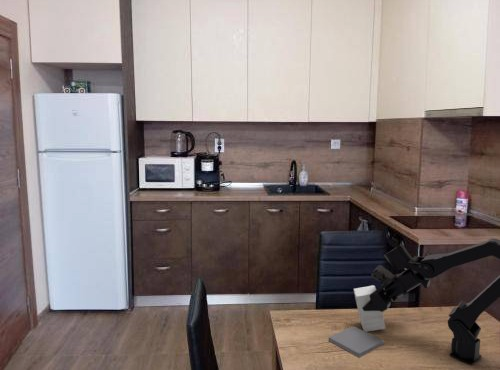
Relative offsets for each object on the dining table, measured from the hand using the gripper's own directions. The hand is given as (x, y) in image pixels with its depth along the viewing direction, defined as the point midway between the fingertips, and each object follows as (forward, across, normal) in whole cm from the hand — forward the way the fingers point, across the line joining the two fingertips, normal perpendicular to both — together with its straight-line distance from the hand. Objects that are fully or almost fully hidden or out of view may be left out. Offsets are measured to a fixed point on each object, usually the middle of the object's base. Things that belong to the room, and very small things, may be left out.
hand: (368, 304), depth 138 cm
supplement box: (+4, 0, +7) cm, 8 cm away
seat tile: (+5, +12, +6) cm, 14 cm away
